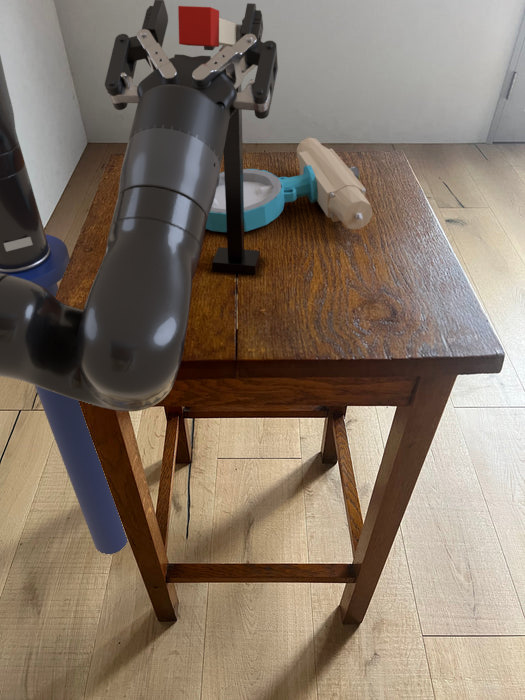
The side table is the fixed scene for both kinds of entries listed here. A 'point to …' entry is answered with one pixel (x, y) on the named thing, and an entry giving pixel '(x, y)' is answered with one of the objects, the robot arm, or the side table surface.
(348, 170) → the butterfly valve
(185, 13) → the lever
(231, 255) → the lever post
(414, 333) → the side table surface
